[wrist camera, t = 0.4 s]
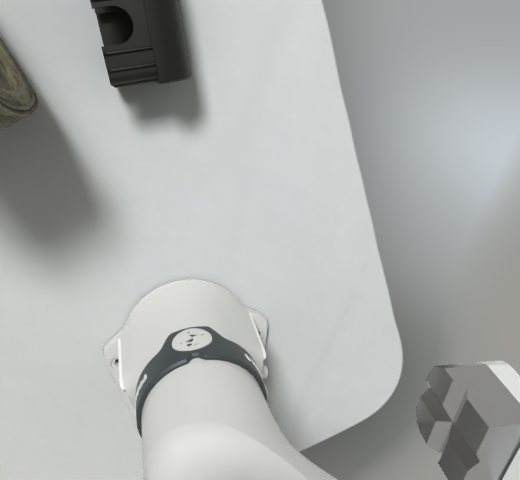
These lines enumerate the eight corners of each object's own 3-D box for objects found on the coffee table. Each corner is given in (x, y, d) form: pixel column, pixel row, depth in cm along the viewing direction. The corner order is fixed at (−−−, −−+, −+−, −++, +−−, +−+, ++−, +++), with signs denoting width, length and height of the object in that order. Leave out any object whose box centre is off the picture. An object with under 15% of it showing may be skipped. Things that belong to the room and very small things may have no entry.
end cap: (187, 77, 49) (196, 78, 42) (114, 88, 47) (112, 91, 41) (166, -38, 45) (172, -55, 39) (86, -28, 44) (79, -44, 38)
